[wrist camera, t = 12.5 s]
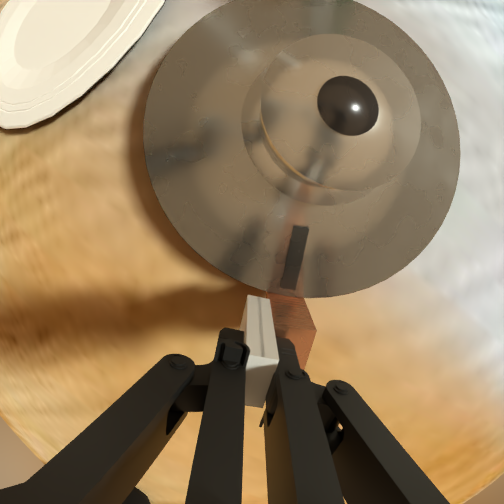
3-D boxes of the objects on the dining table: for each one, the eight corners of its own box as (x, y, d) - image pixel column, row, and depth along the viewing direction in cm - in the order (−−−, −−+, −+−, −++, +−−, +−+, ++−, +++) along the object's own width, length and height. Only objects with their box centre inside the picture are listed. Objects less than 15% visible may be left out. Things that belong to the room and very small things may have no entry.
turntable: (190, -16, 15) (175, -58, 9) (454, 54, 15) (493, 34, 10) (128, 298, 20) (93, 333, 15) (403, 341, 21) (435, 379, 15)
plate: (21, -20, 13) (14, -25, 11) (198, -79, 13) (196, -89, 12) (-28, 148, 19) (-39, 148, 17) (159, 111, 19) (150, 105, 17)
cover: (210, 112, 16) (190, 83, 11) (329, 36, 15) (353, -7, 9) (306, 235, 18) (327, 258, 12) (416, 151, 16) (467, 145, 11)
